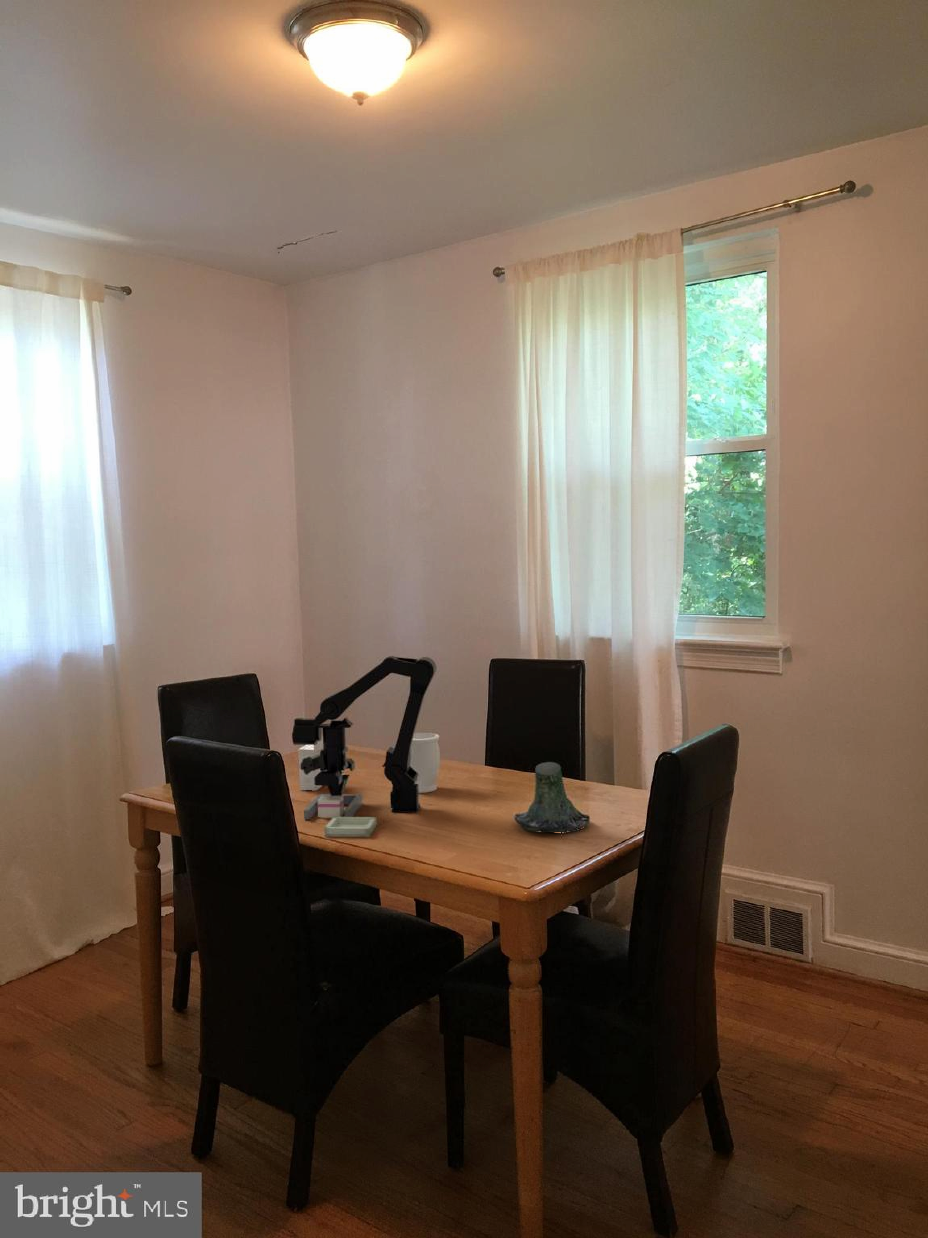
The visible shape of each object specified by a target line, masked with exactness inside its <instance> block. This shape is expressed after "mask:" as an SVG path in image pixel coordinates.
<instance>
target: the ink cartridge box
mask: <svg viewBox="0 0 928 1238" xmlns="http://www.w3.org/2000/svg"><path fill="white" fill-rule="evenodd" d="M322 749H323V732H322V738H321V741H318V742H317V744H316V745H303V746H301V748H298V750H297V751H298V765H299V767H298V768H299V785H300V786H299V788H300V789H299V790H300V791H306V790H312V791H313V792H315V791H318V790H319V789H321V788H322V787H323V786H324V785H315V784H314V777H315V776H316V775H317V774H318V773H319V772H321V771H320V768H319V769H317V770H314V771H311V772H310V773H308V774H305V773H304V770H301V762H302V760H303V759H304V758H307V757H309V756H310V757H313V756H316V755H318V754H320V751H321V750H322ZM325 771H327V770H325ZM312 791H311V792H312Z"/></svg>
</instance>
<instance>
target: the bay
mask: <svg viewBox="0 0 928 1238" xmlns="http://www.w3.org/2000/svg"><path fill="white" fill-rule="evenodd" d="M321 796H331V794H329V793H326V794H324V793H320V794H318V795H317V796H315V798H314V799H313V800H312V801H311V802H310V803H309V804H308V805H307V806H306V807H305V808H304V809H303V819H307V820H306V821H309V820H310V819H312V817H314V815H316V814H317V812H318V800H319V798H320V797H321ZM342 796H343V799H344V806H347V807H346V808H345V809H344V817H354V815H355V814H356V813H357V812H358V810H359V809H360V808H361V807H362V805H363V794H345V793H344V794H342ZM316 811H317V812H316ZM356 811H357V812H356ZM308 819H309V820H308Z"/></svg>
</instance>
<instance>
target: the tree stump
mask: <svg viewBox="0 0 928 1238" xmlns="http://www.w3.org/2000/svg"><path fill="white" fill-rule="evenodd" d="M534 769H535V771H534V773H535V774H534V778H535V782H534V783H535V788H534V792H535V793H534V798H533V802H532V803H531V804H530V805H529V808H528V810H527V811H526V812H524V813H523V812H522V813H519V812H518V813H516V814H514V817H513V818H514V819H513V820H514V821H515V822H516V823H517V824H518V825H520V826H521V828H523V827H524V828H523V829H524V830H526V829H527V831H528V830H529V831H528V832H530V831H541V832H561V833H562V832H567V831H572V832H574V831H573V830H577V829H581V828H583V827H585V828H587V826H588V824H589V822H590V815H588V814H584V813H582V812H581V811H580V810H579V809H577V807H576V806H575V805H574V804H573V802H572V801H571V800H570V799H569V798H568V797H567V794H566V789H565V785H564V780H563V775H562V767H561V765H560V764H559V763H557V762H554V761H547V762H542V763H541V762H540V763H539V764H537V765H536V767H535V768H534ZM577 831H578V830H577ZM567 833H568V832H567ZM562 834H563V833H562Z"/></svg>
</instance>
